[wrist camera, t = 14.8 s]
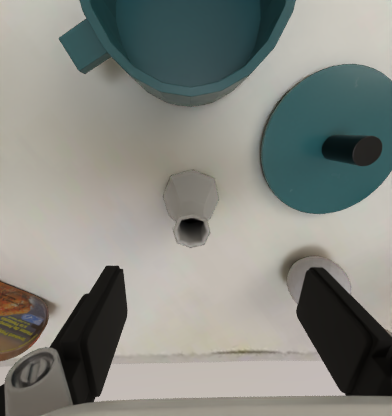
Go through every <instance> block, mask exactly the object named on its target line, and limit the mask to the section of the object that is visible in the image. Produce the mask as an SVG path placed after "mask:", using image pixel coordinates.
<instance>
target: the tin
mask: <svg viewBox="0 0 392 416" xmlns="http://www.w3.org/2000/svg"><path fill="white" fill-rule="evenodd" d="M48 319H49V311H48V307H47V305H46V304H45V302H44V301H43V300H42V299H41V298H39V297H38V296H35V295H33V294H30V293H28V292H25V291H23V290H20V289H18V288H15V287H13V286H10V285H7V284H5V283H3V282H0V361H4V360H8V359H11V358H13V357H16V356H18V355H20V354H21V353H23V352H25V351H26V350H28V349H29V348H30V347H31V346H32V345H33V344H34V343H35V342H36V341H37V339H38V338H39V337H40V335H41V333H42V332H43V330H44V329H45V327H46V325H47V322H48Z"/></svg>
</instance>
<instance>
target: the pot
mask: <svg viewBox="0 0 392 416" xmlns="http://www.w3.org/2000/svg"><path fill="white" fill-rule="evenodd" d="M295 1H296V0H80V3H81V7H82V10H83V12H84V15H85V16H86V18H87V19H85V20H84V21H82V22H81V23H79V24H78V25H77V26H75V27H74V28H72V29H71V30H70V31H68V32H67V33H65V34H64V35H62V36H61V37H60V38H59V40H60V42H61V43H62V45H63V46H64V48H65V50H66V51H67V53H68V54H69V56H70V58H71V59H72V61H73V62H74V64H75V66H76V67H77V69H78V70H79V71H80V72H82V73H83V74H86V73H87V72H89V71H90V70H92V69H93V68H95V67H96V66H98V65H99V64H101V63H102V62H104V61H105V60H107V59H108V58H110V57H112V58H113V59H114V60H115V61H116V62H117V63H118V64H119V65H120V66H121V67H122V68H123V69H124V70H125V71H126V72H127V73H128V74H129V75H130V76H131V77H132V78H133V79H134V80H135V81H136V82H138V83H139V84H140V85H141V86H142V87H143V88H144V89H145V90H146V91H147V92H149V93H150V94H152V95H154V96H156V97H158V98H159V99H161V100H164V101H165V102H167V103H171V104H175V105H181V106H189V107H190V106H191V107H192V106H199V105H205V104H208V103H212V102H214V101H216V100H218V99H220V98H222V97H223V96H225V95H227V94H228V93H230V92H232V91H233V90H234V89H235V88H236V87H237V86H238V85H239V84H240V83H242V82H243V81H244V80H245V79H246V78H247V77H248V76H249V75H250V74H251V73H252V72H253V71H254V70H255V68H256V67H257V66H258V65H259V64H260V63H261V62H262V61H263V60H264V59H265V57H266V56H267V55H268V54H269V53H270V52H271V51H272V50H273V49H274V47H275V46H276V44H277V42H278V40H279V38H280V36H281V34H282V32H283V30H284V28H285V26H286V24H287V22H288V20H289V18H290V16H291V14H292V12H293V10H294V5H295Z"/></svg>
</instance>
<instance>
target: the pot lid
mask: <svg viewBox="0 0 392 416" xmlns="http://www.w3.org/2000/svg"><path fill="white" fill-rule="evenodd" d="M261 164H262V170H263V174H264V177H265V180H266V182H267V184H268V186H269V187H270V189H271V190H272V192H273V193H274V194H275V195H276V196H277V197H278V198H279V199H280V200H281V201H282V202H284V203H285V204H286V205H288V206H290V207H291V208H293V209H296V210H298V211H301V212H306V213H313V214H325V213H332V212H336V211H340V210H343V209H346V208H348V207H351V206H352V205H354V204H356V203H358V202H360V201H361V200H363V199H364V198H366V197H367V196H369V195H370V194H371V193H372V192H373V191H375V190H376V189H377V188H378V187H379V186H380V185H381V184H382V182H383V181H384V180H385V179H386V178H387V177H388V175H389V174H390V172H391V171H392V81H391V80H390V79H389V78H388V77H387V76H385V75H384V74H383V73H381V72H379V71H377V70H375V69H374V68H370V67H367V66H364V65H357V64H343V65H337V66H332V67H329V68H326V69H323V70H321V71H319V72H316V73H314V74H312V75H310V76H308V77H307V78H305V79H304V80H302V81H301V82H299V83H298V84H297V85H296V86H295V87H293V88H292V89H291V90H290V91H289V92H288V93H287V94H286V95H285V96H284V97H283V99H282V100H281V101H280V103H279V104H278V105H277V107H276V108H275V110H274V112H273V113H272V115H271V117H270V119H269V121H268V123H267V126H266V129H265V132H264V135H263V140H262V146H261Z"/></svg>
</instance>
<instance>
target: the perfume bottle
mask: <svg viewBox="0 0 392 416" xmlns="http://www.w3.org/2000/svg"><path fill="white" fill-rule="evenodd" d="M311 267H323V268H324V269H326V270H327V271H328V272H329V273H330V274H331V275H332V276H333V277H334V279H335V280H336V281H337V282H338V283H339V284H340V285H341V286H342V287H343V288H344V289H345V290H346V291H347V292H348V293H349V294H350V295H351V288H352V286H351V284H350V281H349V278H348V276H347V275H346V273H345V272H344V271H343V269H342V268H341V267H340V266H339V265H337V264H336V263H334V262H333V261H331V260H329V259H326V258H323V257H318V256H311V257H305V258H302V259H300V260H298V261H297V262H295V263H294V264H293V265H292V267H291V268H290V270H289V273H288V276H287V286H288V290H289V292H290V294H291V296H292V298H293V299H294V301H295V302H296V303H297V304H298V302H299V298H300V294H301V290H302V286H303V282H304V278H305V274H306V271H307V270H309V268H311ZM385 330H386V329H385ZM386 331H387V332H388V333H389V334H390V335H391V336H392V333H391V332H389V331H388V330H386Z"/></svg>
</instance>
